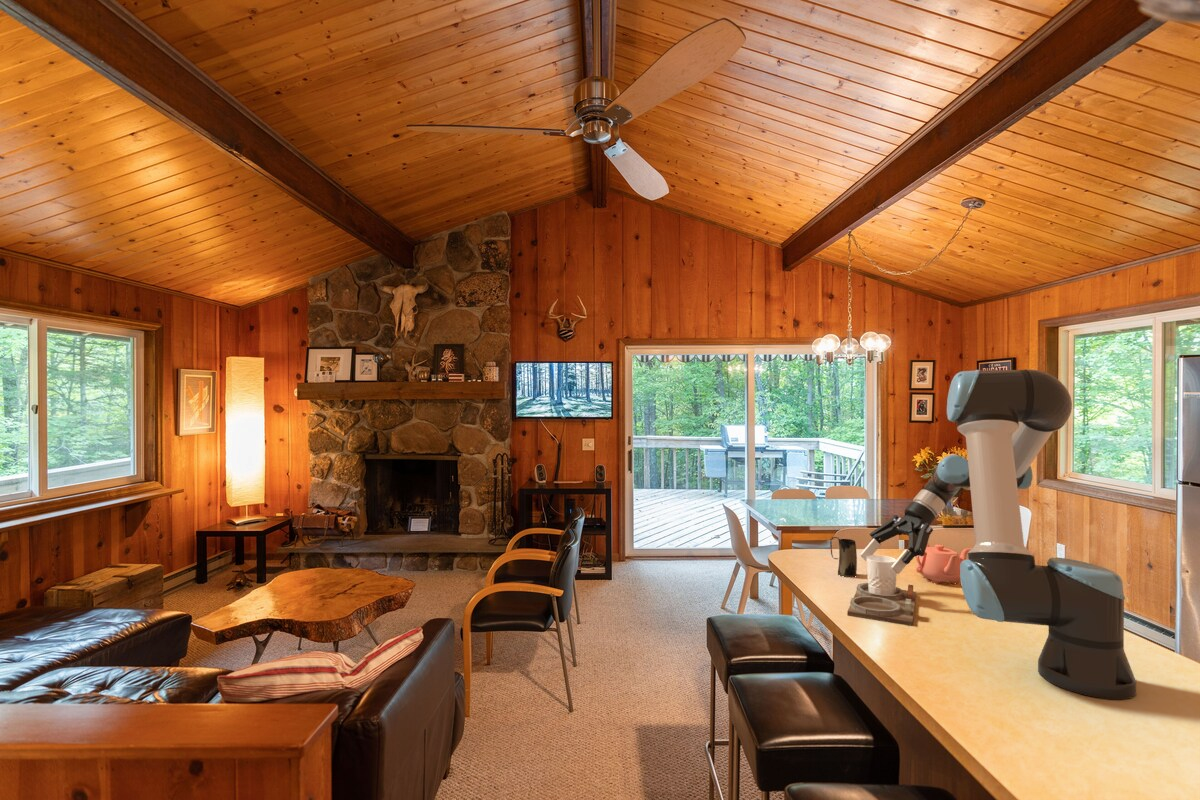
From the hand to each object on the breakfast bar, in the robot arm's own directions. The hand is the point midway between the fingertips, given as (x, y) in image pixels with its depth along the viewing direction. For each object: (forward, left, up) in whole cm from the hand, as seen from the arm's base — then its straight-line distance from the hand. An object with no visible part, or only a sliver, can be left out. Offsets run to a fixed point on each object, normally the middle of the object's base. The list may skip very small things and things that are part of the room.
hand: (878, 564), depth 171 cm
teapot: (+27, -16, -9) cm, 33 cm away
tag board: (-7, -2, -9) cm, 12 cm away
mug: (+18, +12, -9) cm, 23 cm away
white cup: (0, -1, -8) cm, 8 cm away
